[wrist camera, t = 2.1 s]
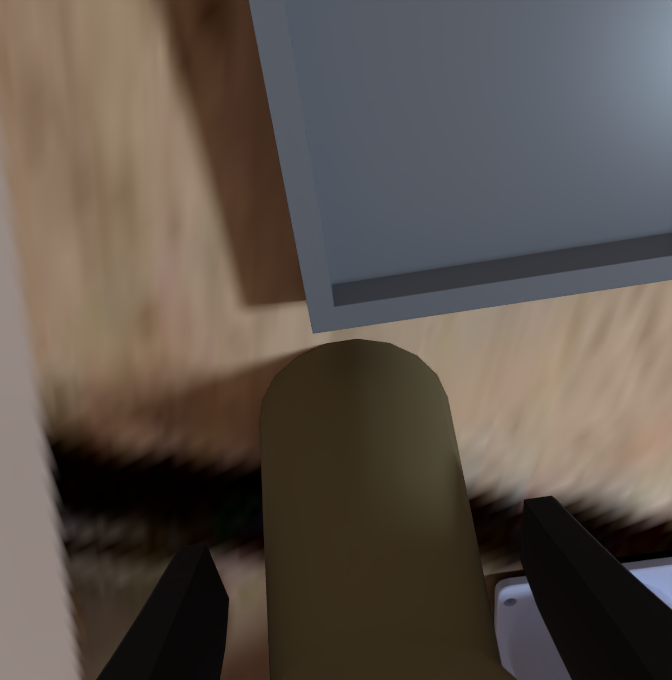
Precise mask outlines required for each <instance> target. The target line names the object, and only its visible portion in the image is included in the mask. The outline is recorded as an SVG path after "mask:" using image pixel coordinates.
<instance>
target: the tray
mask: <svg viewBox="0 0 672 680" xmlns="http://www.w3.org/2000/svg"><path fill="white" fill-rule="evenodd" d="M249 5H250V10H251V15H252V20H253V25H254V31H255V36H256V41H257V46H258V51H259V57H260V62H261V67H262V72H263V77H264V83H265V88H266V93H267V98H268V103H269V109H270V114H271V119H272V124H273V129H274V135H275V140H276V145H277V150H278V155H279V160H280V166H281V171H282V176H283V181H284V186H285V192H286V197H287V202H288V207H289V212H290V218H291V223H292V228H293V233H294V238H295V244H296V249H297V254H298V259H299V264H300V270H301V275H302V280H303V285H304V290H305V296H306V301H307V306H308V311H309V316H310V322H311V327H312V332H313V333H320V332H327V331H333V330H340V329H347V328H353V327H360V326H367V325H374V324H380V323H387V322H394V321H400V320H407V319H414V318H420V317H427V316H434V315H440V314H447V313H454V312H460V311H467V310H474V309H480V308H487V307H494V306H500V305H507V304H514V303H520V302H527V301H534V300H540V299H547V298H554V297H560V296H567V295H574V294H580V293H587V292H594V291H600V290H607V289H614V288H620V287H627V286H634V285H640V284H647V283H654V282H660V281H667V280H672V0H249Z"/></svg>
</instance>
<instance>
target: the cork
mask: <svg viewBox="0 0 672 680" xmlns="http://www.w3.org/2000/svg"><path fill="white" fill-rule="evenodd" d="M260 448H261V472H262V496H263V521H264V545H265V569H266V594H267V618H268V642H269V666H270V680H517V679H516V678H515V677H514V676H513V675H512V674H511V673H509V672H508V671H507V670H506V669H505V668H504V667H503V666H502V663H501V658H500V653H499V648H498V643H497V638H496V633H495V628H494V623H493V619H492V614H491V609H490V604H489V599H488V594H487V589H486V584H485V579H484V574H483V569H482V564H481V559H480V554H479V549H478V544H477V540H476V535H475V530H474V525H473V520H472V515H471V510H470V505H469V500H468V495H467V490H466V485H465V480H464V475H463V470H462V466H461V461H460V456H459V451H458V446H457V441H456V436H455V431H454V426H453V421H452V416H451V411H450V406H449V401H448V397H447V395H446V393H445V391H444V388H443V386H442V384H441V382H440V380H439V378H438V376H437V374H436V373H435V372H434V371H433V370H432V369H431V368H430V367H429V366H427V365H426V364H425V363H424V362H423V361H422V360H421V359H420V358H419V357H418V356H417V355H414V354H412V353H410V352H408V351H406V350H403V349H401V348H399V347H397V346H395V345H393V344H390V343H384V342H376V341H369V340H361V339H355V340H349V341H342V342H335V343H328V344H324V345H322V346H320V347H318V348H316V349H313V350H311V351H309V352H307V353H305V354H302V355H300V356H298V357H296V358H295V359H294V360H293V361H292V362H291V363H290V364H289V365H287V366H286V367H285V368H284V369H283V370H282V371H281V372H280V373H279V374H277V375H276V376H275V378H274V380H273V381H272V383H271V385H270V387H269V389H268V391H267V392H266V394H265V396H264V398H263V400H262V408H261V416H260Z"/></svg>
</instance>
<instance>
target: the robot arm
mask: <svg viewBox="0 0 672 680" xmlns="http://www.w3.org/2000/svg"><path fill="white" fill-rule="evenodd" d="M520 560H521V563H522V566H523V569H524V572H525V575H526V576H521V577H513V578H506V579H503V580H501V581H499V582H498V583H497V584H496V587H495V610H494V628H495V633H496V638H497V643H498V648H499V653H500V658H501V663H502V666H503V667H504V668H505V669H506V670H507V671H508V672H509V673H511V674H512V675H513V676H514V677H515V678H516V679H517V680H672V557H666V558H659V559H651V560H643V561H636V562H628V563H620V562H619V561H618V560H617V559H616V558H615V557H614V556H613V555H612V554H611V553H610V552H608V551H607V550H606V549H605V548H604V547H603V546H602V545H601V544H600V543H599V542H598V541H597V540H596V539H595V538H594V537H593V536H592V535H591V534H590V533H589V532H588V531H587V530H586V529H585V528H584V527H583V526H582V525H581V524H580V523H579V522H578V521H577V520H576V519H575V518H574V517H573V516H572V515H571V514H570V513H569V512H568V511H567V510H566V509H565V508H564V507H563V506H562V505H561V504H560V503H559V502H558V500H557V499H555V498H554V497H553V496H547V497H539V498H532V499H525V500H524V507H523V523H522V539H521V555H520ZM228 607H229V597H228V595H227V593H226V590H225V588H224V585H223V583H222V581H221V578H220V576H219V573H218V571H217V569H216V566H215V564H214V561H213V559H212V557H211V554H210V552H209V549H208V547H207V545H206V544H200V545H193V546H185V547H180V548H179V549H178V550H177V551H176V553H175V555H174V556H173V558H172V560H171V562H170V563H169V565H168V567H167V568H166V570H165V572H164V573H163V575H162V577H161V578H160V580H159V582H158V584H157V585H156V587H155V589H154V590H153V592H152V594H151V595H150V597H149V598H148V600H147V602H146V603H145V605H144V607H143V608H142V610H141V612H140V613H139V615H138V616H137V618H136V620H135V621H134V623H133V624H132V626H131V627H130V629H129V631H128V632H127V634H126V635H125V637H124V638H123V640H122V642H121V643H120V645H119V646H118V648H117V649H116V651H115V652H114V654H113V656H112V657H111V659H110V660H109V662H108V663H107V664H106V666H105V667H104V669H103V670H102V672H101V673H100V675H99V676H98V678H97V679H96V680H220V675H221V670H222V664H223V658H224V653H225V645H226V634H227V622H228Z"/></svg>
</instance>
